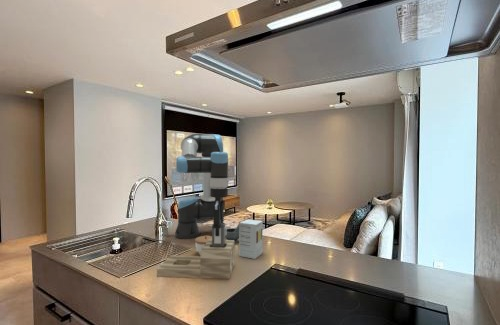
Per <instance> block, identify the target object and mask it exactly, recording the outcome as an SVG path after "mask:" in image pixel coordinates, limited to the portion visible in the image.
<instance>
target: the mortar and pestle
mask: <svg viewBox="0 0 500 325" xmlns="http://www.w3.org/2000/svg"><path fill="white" fill-rule="evenodd" d="M240 222H241V221H240ZM240 222H239V223H240ZM239 223H238V225H237V227H236V228H234V227H233V228H227V234H226V236H225V240H234V245H235V244H239Z"/></svg>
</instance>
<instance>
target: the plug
mask: <svg viewBox="0 0 500 325" xmlns="http://www.w3.org/2000/svg"><path fill="white" fill-rule="evenodd" d="M220 226H221V244H217V243H214V228H212V227H213V224H212V225H211V236H212V247H222V248H225V240H226V237H225V236H226V234H227V229H228V228H227V227H226V223H225V222H223V223H221V225H220Z"/></svg>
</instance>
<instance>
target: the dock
mask: <svg viewBox="0 0 500 325" xmlns="http://www.w3.org/2000/svg"><path fill="white" fill-rule="evenodd" d="M234 266H235V244H234V240H227V239H225V248H222V247H212V240H208V241H207V243H206V244H205V245H204V247H203V248H202V249H201V255H173V254H172V255H169V256H168V257H167V258H166V260H164V262H162V263H161V265H159V266H158V267H157V269H156V277H169V278H170V277H171V278H195V279H196V278H197V279H222V280H223V279H224V280H225V279H226V280H230V278H231V276H232V272H233V269H234Z"/></svg>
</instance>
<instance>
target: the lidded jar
mask: <svg viewBox="0 0 500 325" xmlns="http://www.w3.org/2000/svg"><path fill="white" fill-rule="evenodd" d="M208 240H212V235H203V236H202V235H201V236H197V237H195V239H194V241H195V250H196V252H197V253H198V254H199V256H201V249H202V248H203V247H204V245H205V244H206V243H207V241H208Z"/></svg>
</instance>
